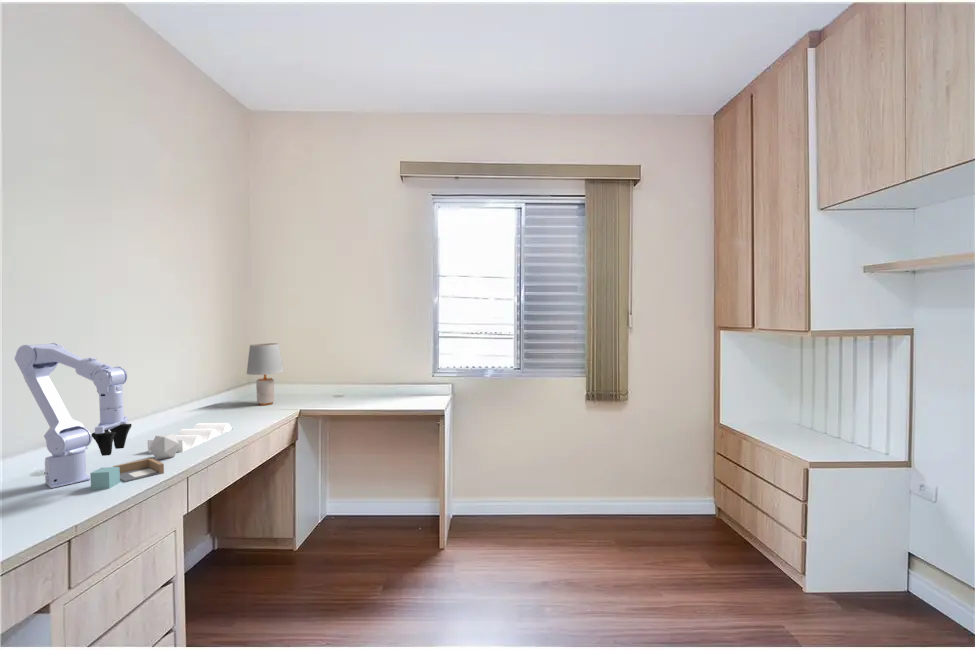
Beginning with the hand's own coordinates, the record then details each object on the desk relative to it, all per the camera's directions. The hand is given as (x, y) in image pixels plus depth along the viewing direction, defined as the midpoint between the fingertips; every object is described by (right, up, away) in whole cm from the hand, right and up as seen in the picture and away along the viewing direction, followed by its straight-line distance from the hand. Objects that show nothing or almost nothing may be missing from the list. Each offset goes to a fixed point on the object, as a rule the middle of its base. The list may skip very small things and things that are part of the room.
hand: (113, 451), depth 149 cm
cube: (0, -10, -3) cm, 10 cm away
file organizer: (-6, -9, +50) cm, 52 cm away
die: (-1, -9, +26) cm, 27 cm away
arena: (+2, -9, +8) cm, 12 cm away
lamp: (-11, -6, +128) cm, 129 cm away
